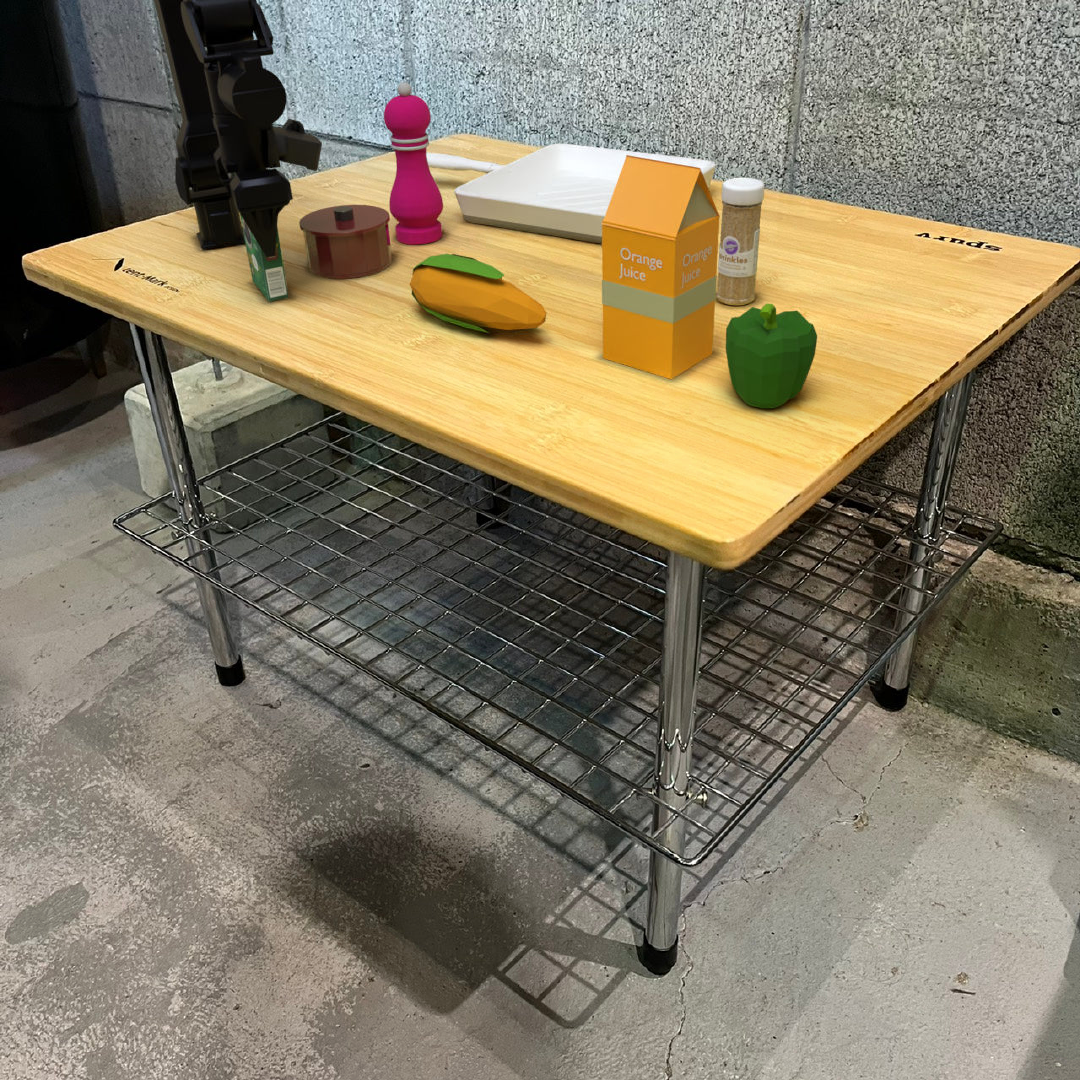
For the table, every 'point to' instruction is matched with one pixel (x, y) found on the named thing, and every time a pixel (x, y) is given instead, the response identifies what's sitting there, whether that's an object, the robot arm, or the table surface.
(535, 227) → the pan
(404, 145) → the pepper mill
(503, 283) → the corn
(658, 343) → the orange juice
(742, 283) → the sprinkles bottle
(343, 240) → the pot
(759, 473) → the table surface
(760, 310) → the bell pepper
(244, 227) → the coffee box
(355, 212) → the pot lid
